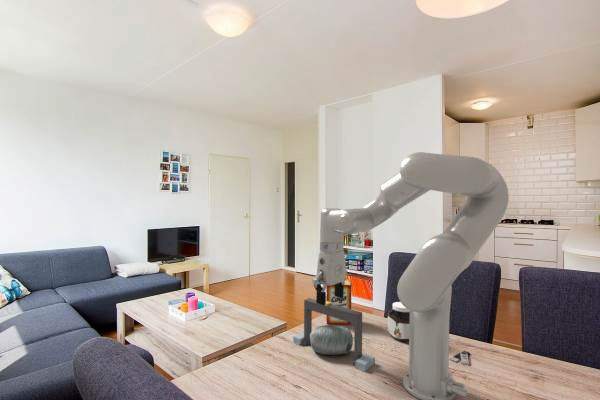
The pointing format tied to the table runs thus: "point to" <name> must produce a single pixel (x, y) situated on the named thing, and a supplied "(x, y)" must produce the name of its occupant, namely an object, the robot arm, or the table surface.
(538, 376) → the table surface
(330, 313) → the gray arch frame
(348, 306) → the baking soda box
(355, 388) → the table surface
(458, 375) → the table surface
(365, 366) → the pale blue block pair
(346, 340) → the gray yarn ball
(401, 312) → the spread jar
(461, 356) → the usb flash drive
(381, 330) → the table surface
